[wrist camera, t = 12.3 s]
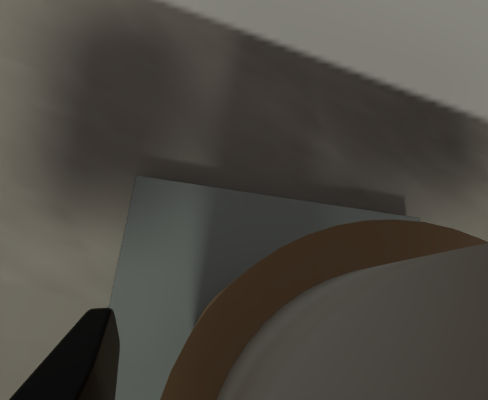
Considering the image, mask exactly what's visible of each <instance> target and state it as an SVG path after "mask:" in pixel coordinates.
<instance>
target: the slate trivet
mask: <svg viewBox="0 0 488 400" xmlns="http://www.w3.org/2000/svg"><path fill="white" fill-rule="evenodd" d="M391 219H396V220H406V221H417V222H420V218H416V217H409V216H403V215H396V214H389V213H383V212H376V211H369V210H363V209H356V208H349V207H343V206H336V205H329V204H323V203H316V202H309V201H303V200H296V199H290V198H283V197H276V196H270V195H263V194H256V193H250V192H243V191H236V190H230V189H223V188H216V187H210V186H203V185H196V184H190V183H183V182H176V181H170V180H163V179H157V178H150V177H143V176H137V175H136V178H135V183H134V188H133V193H132V198H131V202H130V207H129V212H128V217H127V222H126V227H125V232H124V236H123V241H122V246H121V251H120V256H119V261H118V266H117V270H116V275H115V280H114V285H113V290H112V295H111V299H110V304H109V308H111V309H113V311H114V314H115V318H116V323H117V328H118V333H119V339H120V353H119V364H118V374H117V385H116V395H115V400H160V399H161V396H162V393H163V390H164V388H165V385H166V382H167V380H168V377H169V374H170V372H171V370H172V368H173V366H174V364H175V362H176V360H177V358H178V356H179V354H180V353H181V351H182V349H183V347H184V345H185V343H186V341H187V339H188V337H189V335H190V334H191V332H192V330H193V328H194V326H195V325H196V323H197V321H198V319H199V317H200V316H201V314H202V312H203V311H204V309H205V308H206V306H207V305H208V304H209V302H210V301H211V300H212V299H213V298H214V297H215V296H216V295H217V294H219V293H220V292H221V291H222V290H223V289H225V288H226V287H227V286H228V285H229V284H231V283H232V282H233V281H234V280H236V279H237V278H238V277H239V276H241V275H242V274H243V273H244V272H246V271H247V270H248V269H249V268H250V267H252V266H253V265H254V264H256V263H257V262H259V261H260V260H262V259H263V258H265V257H267V256H268V255H270V254H271V253H273V252H274V251H276V250H277V249H279V248H280V247H282V246H285V245H287V244H289V243H291V242H293V241H295V240H297V239H299V238H301V237H304V236H306V235H308V234H311V233H314V232H317V231H320V230H324V229H327V228H330V227H333V226H336V225H342V224H348V223H353V222H359V221H365V220H391Z"/></svg>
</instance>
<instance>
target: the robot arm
mask: <svg viewBox="0 0 488 400" xmlns="http://www.w3.org/2000/svg"><path fill="white" fill-rule="evenodd" d="M119 353H120V339H119V333H118V328H117V323H116V318H115V314H114V311H113V309H111V308H97V309H90V310H89V311H87V312H86V313H85V314H84V315H83V317H82V318H81V319H80V320H79V321H78V322H77V323H76V324H75V326H74V327H73V328H72V329H71V330H70V331H69V332H68V334H67V335H66V336H65V337H64V338H63V339H62V340H61V341H60V343H59V344H58V345H57V346H56V347H55V348H54V349H53V351H52V352H51V353H50V354H49V355H48V356H47V357H46V358H45V360H44V361H43V362H42V363H41V364H40V365H39V366H38V367H37V369H36V370H35V371H34V372H33V373H32V374H31V375H30V377H29V378H28V379H27V380H26V381H25V382H24V383H23V384H22V386H21V387H20V388H19V389H18V390H17V391H16V392H15V394H14V395H13V396H12V397H11V398H10V399H9V400H115V395H116V385H117V374H118V364H119Z"/></svg>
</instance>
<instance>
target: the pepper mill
mask: <svg viewBox="0 0 488 400" xmlns="http://www.w3.org/2000/svg"><path fill="white" fill-rule="evenodd" d="M160 400H488V242H486V241H484V240H482V239H479V238H477V237H474V236H471V235H469V234H466V233H463V232H460V231H458V230H455V229H452V228H447V227H443V226H438V225H434V224H430V223H425V222H417V221H406V220H396V219H391V220H365V221H359V222H353V223H348V224H342V225H336V226H333V227H330V228H327V229H324V230H320V231H317V232H314V233H311V234H308V235H306V236H304V237H301V238H299V239H297V240H295V241H293V242H291V243H289V244H287V245H285V246H282V247H280V248H279V249H277V250H276V251H274V252H273V253H271V254H270V255H268V256H267V257H265V258H263V259H262V260H260V261H259V262H257V263H256V264H254V265H253V266H252V267H250V268H249V269H248V270H247V271H246V272H244V273H243V274H242V275H241V276H239V277H238V278H237V279H236V280H234V281H233V282H232V283H231V284H229V285H228V286H227V287H226V288H225V289H223V290H222V291H221V292H220V293H219V294H217V295H216V296H215V297H214V298H213V299H212V300H211V301H210V302H209V304H208V305H207V306H206V308H205V309H204V311H203V312H202V314H201V316H200V317H199V319H198V321H197V323H196V325H195V326H194V328H193V330H192V332H191V334H190V335H189V337H188V339H187V341H186V343H185V345H184V347H183V349H182V351H181V353H180V354H179V356H178V358H177V360H176V362H175V364H174V366H173V368H172V370H171V372H170V374H169V377H168V380H167V382H166V385H165V388H164V390H163V393H162V396H161V399H160Z"/></svg>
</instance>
